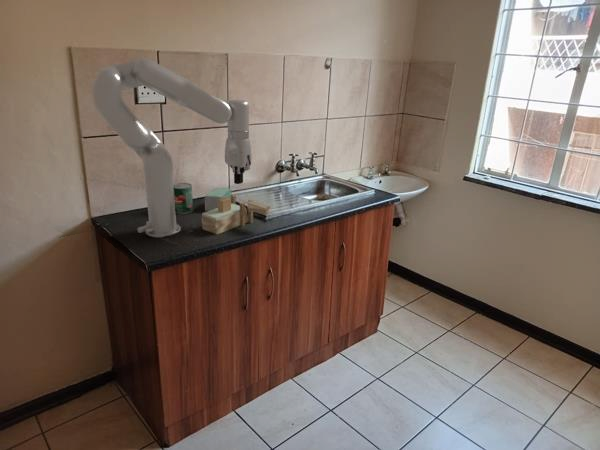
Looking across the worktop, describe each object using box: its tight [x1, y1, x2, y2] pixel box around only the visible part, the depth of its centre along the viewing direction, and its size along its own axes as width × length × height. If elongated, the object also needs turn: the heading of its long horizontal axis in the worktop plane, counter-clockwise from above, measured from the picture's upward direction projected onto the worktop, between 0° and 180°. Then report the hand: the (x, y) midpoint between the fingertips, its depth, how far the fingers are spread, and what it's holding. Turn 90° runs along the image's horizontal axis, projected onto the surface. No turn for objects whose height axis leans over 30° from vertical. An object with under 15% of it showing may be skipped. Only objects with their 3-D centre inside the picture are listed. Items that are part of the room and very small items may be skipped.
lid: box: [201, 197, 247, 221], centre depth 169 cm, size 16×8×6 cm, turn 143°
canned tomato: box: [173, 182, 194, 215], centre depth 187 cm, size 8×8×11 cm
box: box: [204, 187, 233, 212], centre depth 192 cm, size 7×14×8 cm, turn 169°
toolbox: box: [201, 193, 254, 235], centre depth 171 cm, size 18×11×10 cm, turn 143°
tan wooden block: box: [247, 200, 271, 216], centre depth 168 cm, size 2×9×3 cm, turn 53°
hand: (238, 183), depth 171 cm, fingers closed
